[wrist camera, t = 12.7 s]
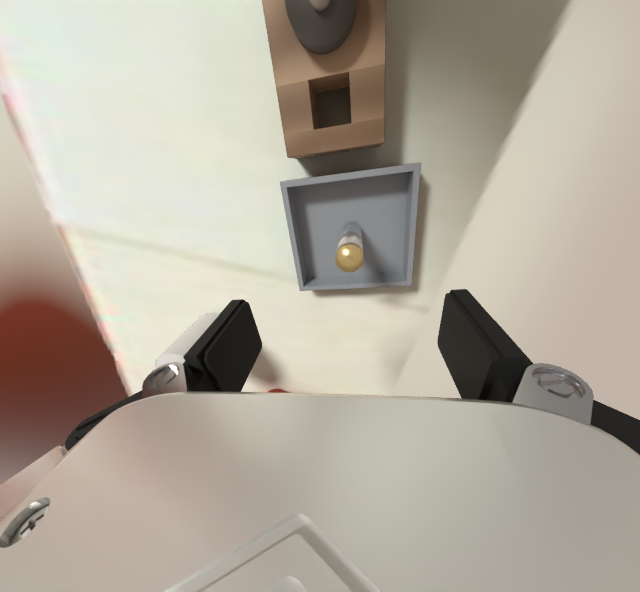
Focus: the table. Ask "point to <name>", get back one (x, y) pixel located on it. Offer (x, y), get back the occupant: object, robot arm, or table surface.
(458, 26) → the table surface
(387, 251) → the tray
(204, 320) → the can
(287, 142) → the block
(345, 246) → the lock pin
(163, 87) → the table surface
